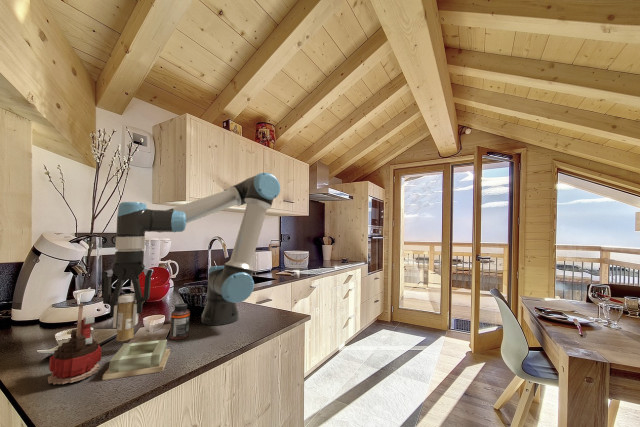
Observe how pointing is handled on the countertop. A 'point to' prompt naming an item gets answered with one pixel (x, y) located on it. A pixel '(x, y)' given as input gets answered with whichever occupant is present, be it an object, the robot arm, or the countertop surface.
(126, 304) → the sprinkles bottle
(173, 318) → the supplement bottle
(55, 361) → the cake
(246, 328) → the countertop surface
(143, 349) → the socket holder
